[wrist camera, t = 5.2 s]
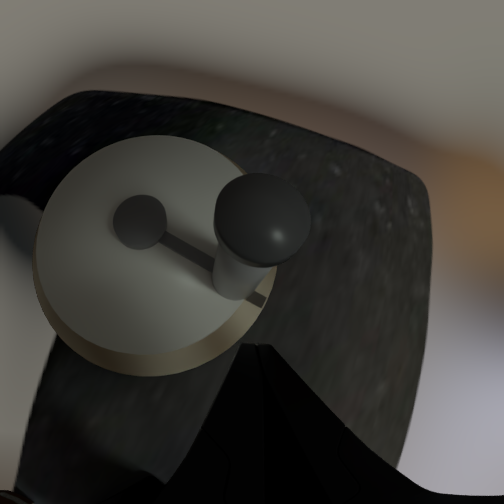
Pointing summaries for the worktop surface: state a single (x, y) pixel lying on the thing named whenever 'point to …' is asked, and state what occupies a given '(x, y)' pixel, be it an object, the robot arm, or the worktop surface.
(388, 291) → the worktop surface
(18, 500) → the food container
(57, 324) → the dial base
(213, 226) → the dial
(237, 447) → the robot arm
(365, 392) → the worktop surface
